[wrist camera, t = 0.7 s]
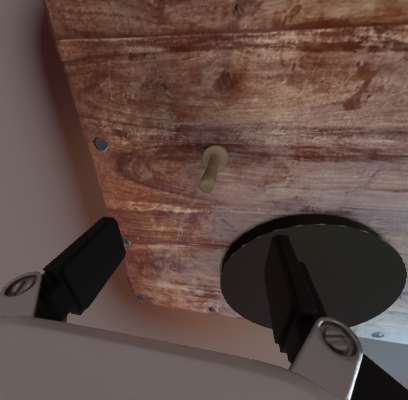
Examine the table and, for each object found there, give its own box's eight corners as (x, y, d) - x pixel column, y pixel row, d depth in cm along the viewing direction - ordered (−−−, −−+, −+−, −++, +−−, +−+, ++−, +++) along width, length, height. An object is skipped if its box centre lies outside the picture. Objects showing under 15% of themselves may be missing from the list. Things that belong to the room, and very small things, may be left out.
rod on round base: (203, 143, 25) (187, 167, 16) (229, 144, 24) (226, 169, 16) (203, 168, 27) (188, 201, 18) (227, 169, 26) (224, 204, 17)
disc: (437, 225, 25) (460, 239, 23) (346, 328, 41) (354, 344, 38) (229, 203, 29) (228, 213, 26) (216, 306, 44) (215, 319, 41)
